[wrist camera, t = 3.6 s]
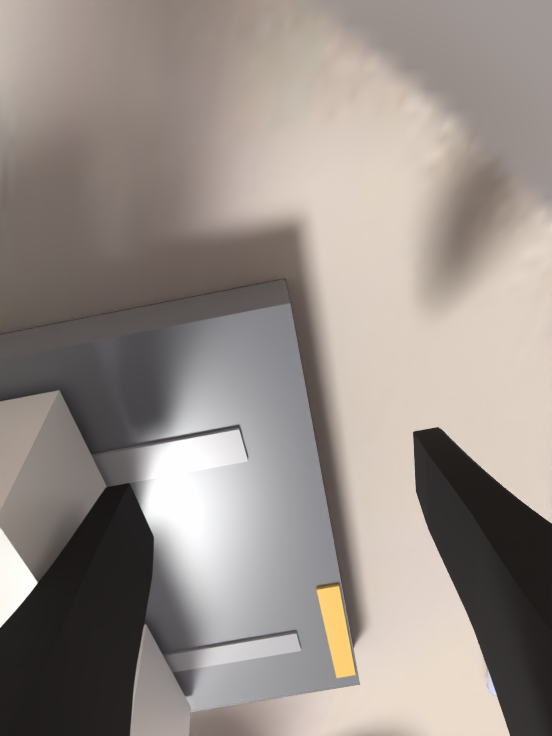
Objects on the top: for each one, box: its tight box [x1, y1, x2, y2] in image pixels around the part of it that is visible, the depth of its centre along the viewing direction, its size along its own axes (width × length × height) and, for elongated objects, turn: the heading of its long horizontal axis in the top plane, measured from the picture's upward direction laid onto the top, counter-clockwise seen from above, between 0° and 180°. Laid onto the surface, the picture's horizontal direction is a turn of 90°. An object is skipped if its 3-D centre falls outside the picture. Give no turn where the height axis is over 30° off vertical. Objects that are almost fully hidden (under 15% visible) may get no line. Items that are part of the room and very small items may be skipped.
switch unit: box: [0, 279, 360, 712], centre depth 18 cm, size 12×18×2 cm, turn 10°
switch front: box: [0, 390, 107, 627], centre depth 13 cm, size 4×6×4 cm, turn 10°
